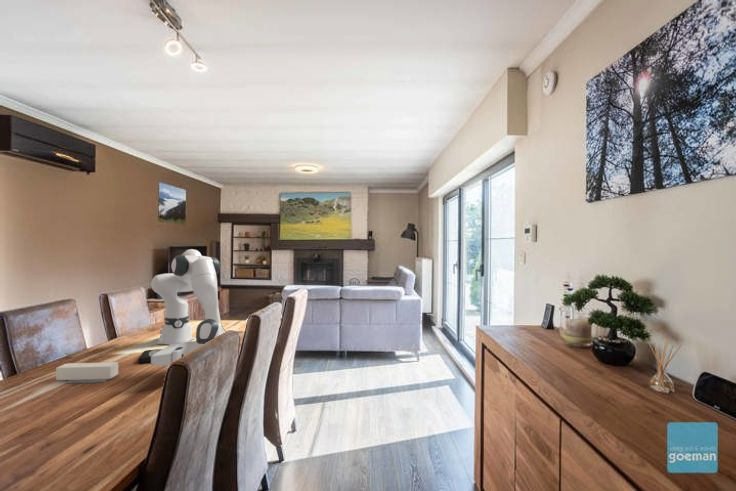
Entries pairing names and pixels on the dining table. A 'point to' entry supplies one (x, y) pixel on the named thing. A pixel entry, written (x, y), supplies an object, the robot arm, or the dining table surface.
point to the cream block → (86, 371)
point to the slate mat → (88, 381)
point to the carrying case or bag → (145, 357)
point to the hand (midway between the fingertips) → (150, 353)
